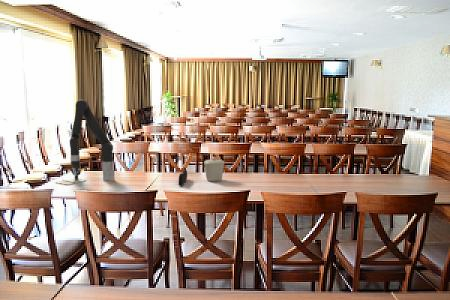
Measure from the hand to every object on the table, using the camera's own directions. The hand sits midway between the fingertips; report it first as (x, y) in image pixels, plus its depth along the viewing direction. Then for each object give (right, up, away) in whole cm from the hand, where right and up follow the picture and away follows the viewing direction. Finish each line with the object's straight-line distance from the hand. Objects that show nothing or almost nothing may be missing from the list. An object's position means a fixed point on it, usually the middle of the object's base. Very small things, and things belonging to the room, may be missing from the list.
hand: (76, 179), depth 354 cm
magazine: (+93, -3, -4) cm, 93 cm away
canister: (+119, -1, +5) cm, 120 cm away
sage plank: (0, -2, -3) cm, 3 cm away
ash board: (-5, -3, -11) cm, 13 cm away
